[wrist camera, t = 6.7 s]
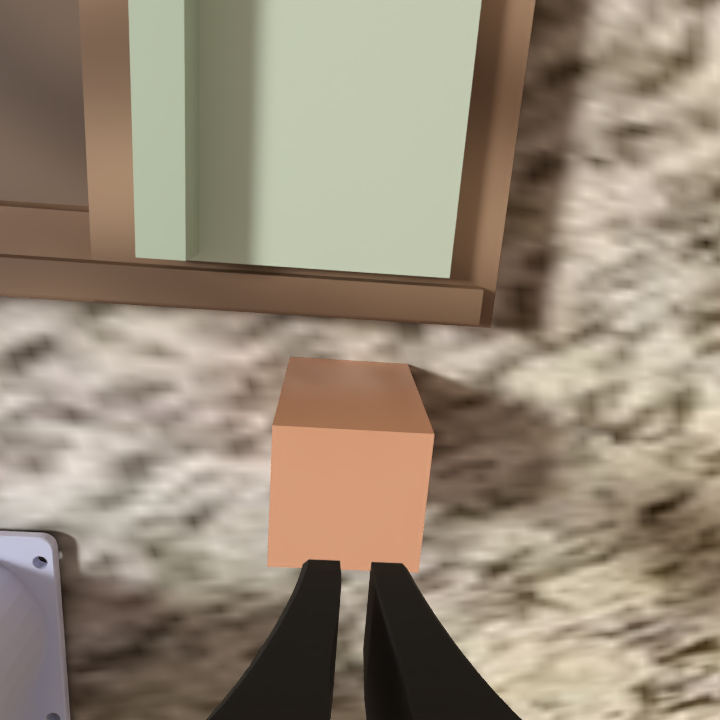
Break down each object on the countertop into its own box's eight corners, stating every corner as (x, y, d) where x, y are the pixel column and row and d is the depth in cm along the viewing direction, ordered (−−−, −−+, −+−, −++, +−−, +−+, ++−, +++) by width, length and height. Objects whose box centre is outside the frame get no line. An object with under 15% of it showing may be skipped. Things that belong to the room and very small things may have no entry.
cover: (444, 273, 18) (460, 287, 15) (161, 254, 17) (135, 265, 15) (486, -92, 15) (511, -137, 13) (155, -126, 15) (123, -179, 12)
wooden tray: (473, 310, 21) (495, 332, 18) (-220, 265, 19) (-318, 280, 16) (527, -112, 17) (566, -170, 14) (-310, -201, 16) (-452, -284, 13)
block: (396, 469, 22) (418, 572, 16) (285, 464, 22) (267, 566, 16) (407, 363, 21) (434, 434, 15) (290, 356, 21) (272, 425, 15)
